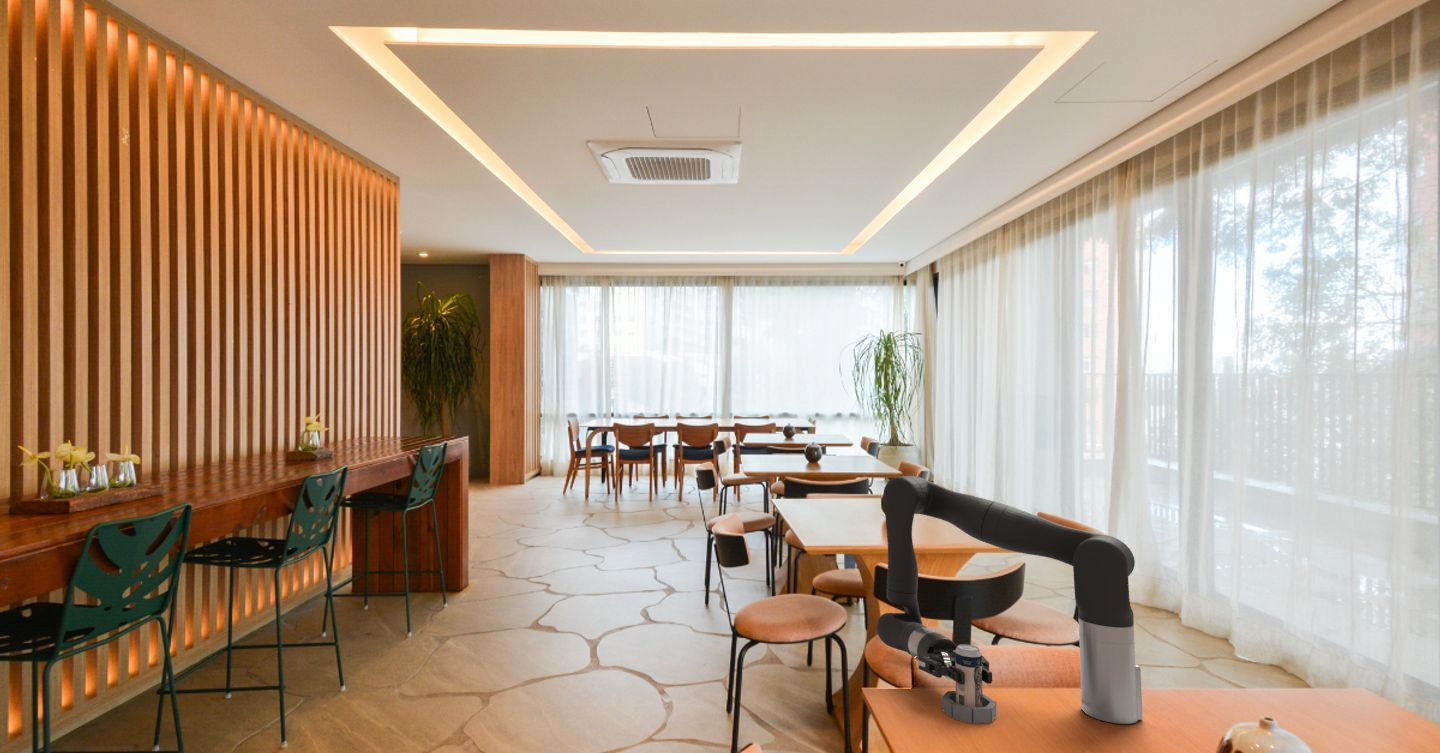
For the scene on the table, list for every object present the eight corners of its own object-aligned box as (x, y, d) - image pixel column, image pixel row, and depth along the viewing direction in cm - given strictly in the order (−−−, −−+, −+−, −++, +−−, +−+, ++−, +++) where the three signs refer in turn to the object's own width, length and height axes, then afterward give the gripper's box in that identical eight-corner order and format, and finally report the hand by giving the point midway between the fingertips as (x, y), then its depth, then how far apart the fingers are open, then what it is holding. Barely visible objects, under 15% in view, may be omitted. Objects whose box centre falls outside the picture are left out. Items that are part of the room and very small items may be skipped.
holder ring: (978, 703, 128) (978, 690, 128) (1005, 722, 119) (1004, 708, 119) (935, 704, 126) (935, 691, 127) (959, 724, 117) (959, 709, 118)
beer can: (985, 719, 120) (984, 652, 121) (958, 717, 121) (957, 650, 122) (980, 709, 124) (979, 644, 126) (954, 707, 125) (953, 642, 127)
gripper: (900, 632, 137) (940, 658, 120) (964, 631, 139) (1011, 656, 122) (901, 669, 136) (940, 701, 119) (964, 667, 138) (1012, 698, 121)
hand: (976, 678), depth 121 cm, fingers closed on beer can, 4 cm apart
